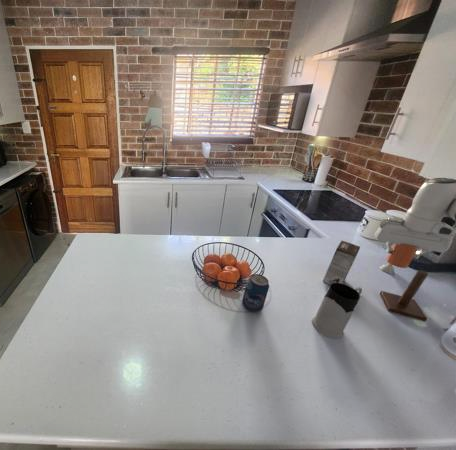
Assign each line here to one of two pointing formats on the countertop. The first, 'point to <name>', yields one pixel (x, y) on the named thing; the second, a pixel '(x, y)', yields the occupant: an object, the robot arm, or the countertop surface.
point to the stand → (406, 299)
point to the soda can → (255, 293)
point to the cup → (402, 255)
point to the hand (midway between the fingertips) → (401, 255)
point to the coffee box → (341, 263)
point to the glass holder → (336, 309)
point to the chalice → (388, 267)
